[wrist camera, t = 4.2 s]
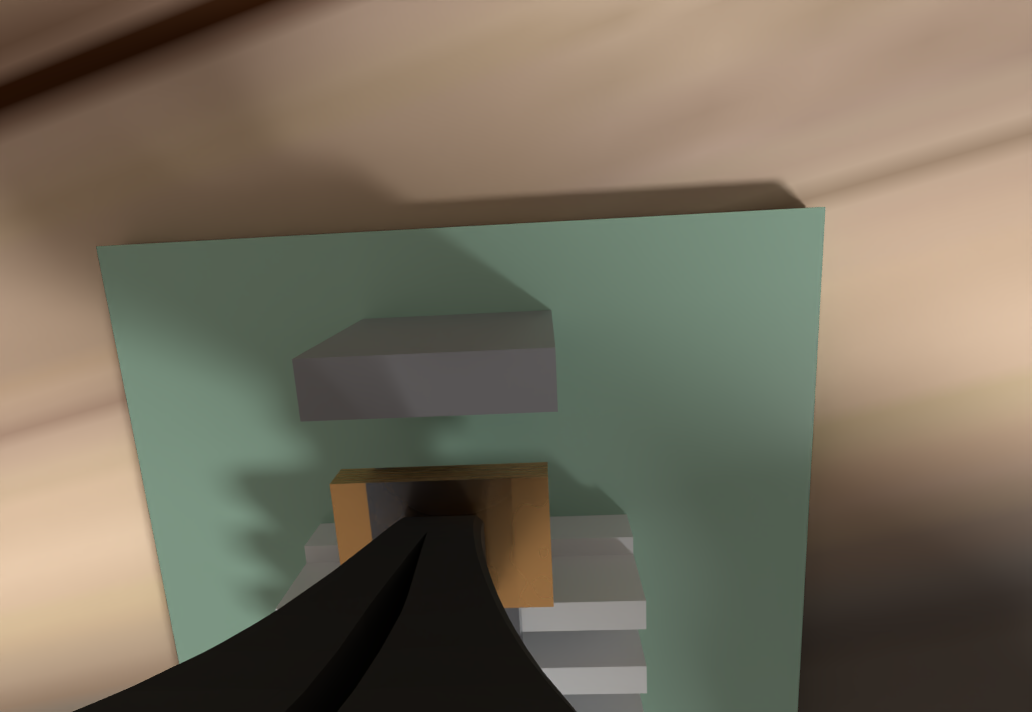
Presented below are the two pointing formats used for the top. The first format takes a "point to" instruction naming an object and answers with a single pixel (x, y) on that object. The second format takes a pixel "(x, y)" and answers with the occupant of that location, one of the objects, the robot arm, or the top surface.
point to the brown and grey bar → (456, 492)
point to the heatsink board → (499, 425)
